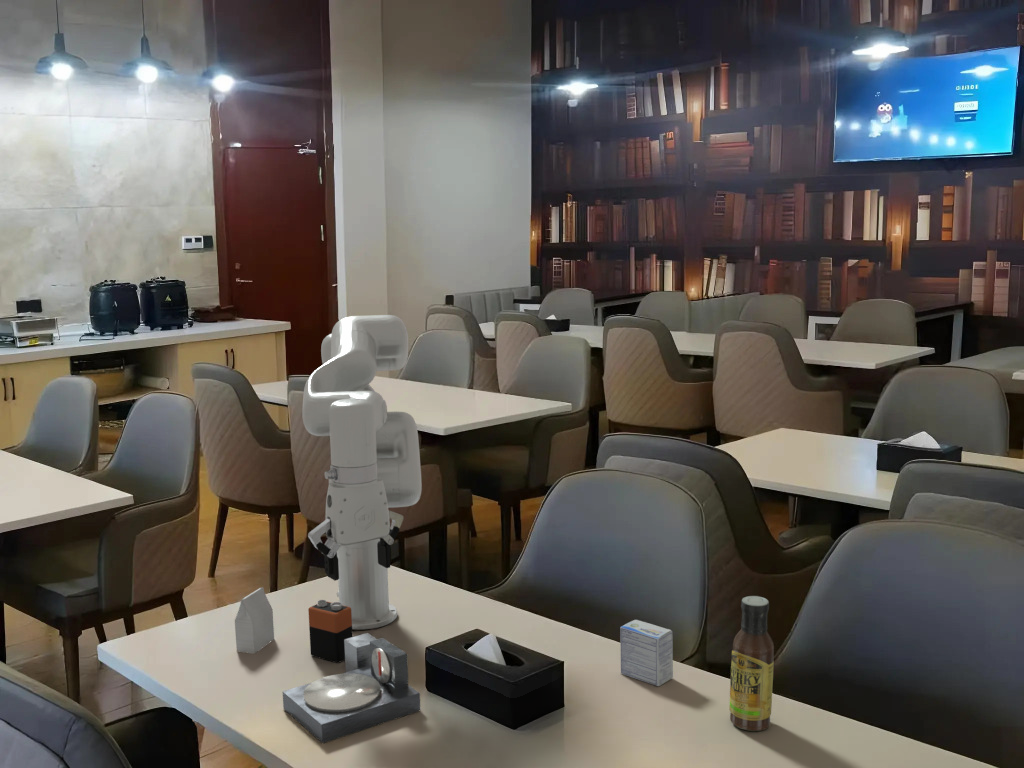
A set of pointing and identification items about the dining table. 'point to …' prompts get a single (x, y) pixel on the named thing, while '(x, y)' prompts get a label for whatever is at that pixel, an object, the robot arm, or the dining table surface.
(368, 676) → the dial scale
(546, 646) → the dining table surface
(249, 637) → the grey house-shaped block
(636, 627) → the medicine box
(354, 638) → the light grey rectangular block
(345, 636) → the battery
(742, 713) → the sauce bottle
